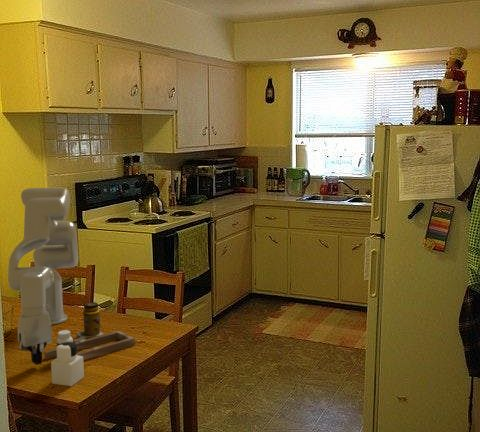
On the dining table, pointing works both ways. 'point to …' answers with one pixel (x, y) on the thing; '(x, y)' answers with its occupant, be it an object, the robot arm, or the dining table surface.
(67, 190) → the robot arm
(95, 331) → the condiment
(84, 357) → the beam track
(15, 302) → the dining table surface
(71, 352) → the white stacked blocks
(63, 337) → the supplement bottle
